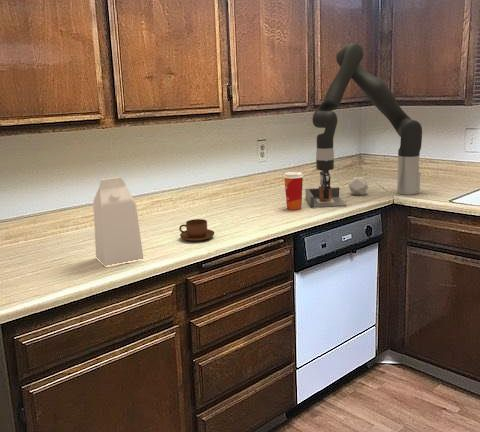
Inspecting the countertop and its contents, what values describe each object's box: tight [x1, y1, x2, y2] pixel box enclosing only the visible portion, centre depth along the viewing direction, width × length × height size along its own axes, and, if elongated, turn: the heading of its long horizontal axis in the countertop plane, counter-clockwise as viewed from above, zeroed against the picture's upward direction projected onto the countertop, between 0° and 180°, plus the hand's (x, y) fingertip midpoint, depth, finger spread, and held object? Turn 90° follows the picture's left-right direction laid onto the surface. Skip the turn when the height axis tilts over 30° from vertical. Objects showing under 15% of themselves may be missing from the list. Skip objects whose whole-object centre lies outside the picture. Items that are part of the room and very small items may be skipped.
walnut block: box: [317, 185, 333, 200], centre depth 236 cm, size 5×5×5 cm
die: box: [348, 176, 369, 196], centre depth 249 cm, size 8×9×10 cm
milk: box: [92, 176, 144, 266], centre depth 168 cm, size 12×12×26 cm
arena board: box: [304, 187, 347, 209], centre depth 236 cm, size 15×18×5 cm
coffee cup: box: [283, 171, 304, 211], centre depth 226 cm, size 8×8×15 cm
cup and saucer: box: [179, 218, 215, 242], centre depth 190 cm, size 12×12×6 cm
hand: (325, 197), depth 236 cm, fingers closed on walnut block, 5 cm apart
